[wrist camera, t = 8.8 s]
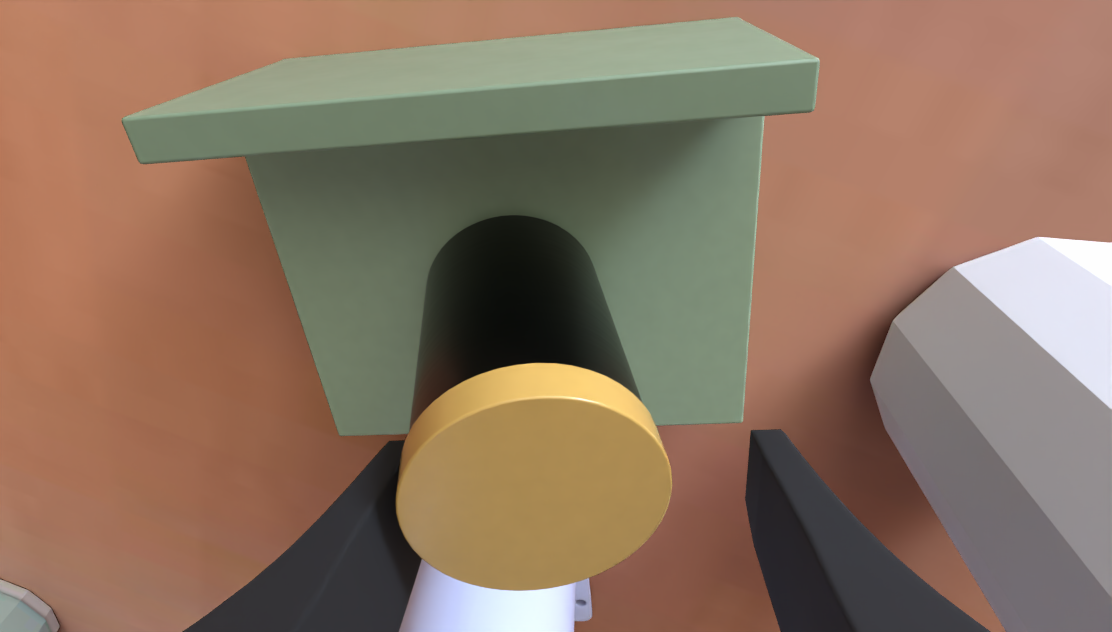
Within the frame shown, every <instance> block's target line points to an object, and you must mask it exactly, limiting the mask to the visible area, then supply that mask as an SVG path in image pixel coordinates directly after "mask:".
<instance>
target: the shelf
mask: <svg viewBox="0 0 1112 632" xmlns="http://www.w3.org/2000/svg"><path fill="white" fill-rule="evenodd" d="M819 66H820V61H819V58H817V57H815V56H813V55H811V54H809V53H807V52H805V51H803V50H801V49H799V48H797V47H795V46H793V45H791V44H789V43H787V42H785V41H783V40H781V39H779V38H777V37H775V36H773V35H771V34H769V33H767V32H765V31H763V30H761V29H759V28H757V27H755V26H753V25H751V24H749V23H748V22H746V21H744V20H742V19H741V18H738V17H733V18H722V19H711V20H700V21H689V22H679V23H668V24H657V25H646V26H636V27H625V28H614V29H603V30H592V31H582V32H571V33H560V34H549V35H539V36H528V37H517V38H506V39H495V40H485V41H474V42H463V43H452V44H442V45H431V46H420V47H409V48H398V49H388V50H377V51H366V52H355V53H345V54H334V55H323V56H312V57H301V58H291V59H284V60H281V61H279V62H276V63H273V64H270V65H268V66H265V67H262V68H259V69H257V70H254V71H251V72H248V73H245V74H243V75H240V76H237V77H234V78H231V79H229V80H226V81H223V82H220V83H217V84H215V85H212V86H209V87H206V88H204V89H201V90H198V91H195V92H192V93H190V94H187V95H184V96H181V97H178V98H176V99H173V100H170V101H167V102H164V103H162V104H159V105H156V106H153V107H151V108H148V109H145V110H142V111H139V112H137V113H134V114H131V115H128V116H125V117H124V118H122V124H123V126H124V128H125V131H126V133H127V135H128V138H129V140H130V143H131V145H132V147H133V150H134V152H135V154H136V157H137V159H138V161H139V162H140V163H141V164H154V163H167V162H180V161H193V160H205V159H218V158H231V157H244V156H245V158H246V161H247V164H248V167H249V170H250V173H251V176H252V179H253V182H254V185H255V188H256V191H257V194H258V197H259V200H260V203H261V206H262V208H263V211H264V214H265V217H266V220H267V223H268V226H269V229H270V232H271V235H272V238H273V241H274V244H275V247H276V250H277V253H278V256H279V259H280V262H281V265H282V268H283V271H284V274H285V277H286V280H287V282H288V285H289V288H290V291H291V294H292V297H293V300H294V303H295V306H296V309H297V312H298V315H299V318H300V321H301V324H302V327H303V330H304V333H305V336H306V339H307V342H308V345H309V348H310V351H311V354H312V356H313V359H314V362H315V365H316V368H317V371H318V374H319V377H320V380H321V383H322V386H323V389H324V392H325V395H326V398H327V401H328V404H329V407H330V410H331V413H332V416H333V419H334V422H335V425H336V428H337V430H338V433H339V435H340V436H358V435H389V434H408V433H409V427H410V419H411V410H412V402H413V394H414V385H415V377H416V368H417V360H418V351H419V343H420V334H421V326H422V317H423V309H424V300H425V292H426V284H427V278H428V274H429V271H430V268H431V265H432V263H433V261H434V259H435V257H436V256H437V254H438V253H439V251H440V250H441V248H442V247H443V246H444V245H445V244H446V243H447V242H448V241H449V240H450V239H451V238H452V237H454V236H455V235H456V234H457V233H459V232H460V231H462V230H463V229H465V228H466V227H468V226H470V225H472V224H475V223H477V222H479V221H482V220H485V219H488V218H493V217H498V216H507V215H522V216H530V217H535V218H539V219H543V220H546V221H549V222H551V223H553V224H555V225H557V226H559V227H561V228H562V229H564V230H566V231H567V232H569V233H570V234H571V235H572V236H573V237H574V238H576V239H577V240H578V242H579V243H580V244H581V245H582V246H583V247H584V249H585V250H586V252H587V253H588V255H589V257H590V259H591V261H592V263H593V266H594V268H595V271H596V274H597V277H598V280H599V282H600V285H601V288H602V291H603V294H604V296H605V299H606V302H607V305H608V308H609V310H610V313H611V316H612V319H613V322H614V324H615V327H616V330H617V333H618V336H619V338H620V341H621V344H622V347H623V350H624V352H625V355H626V358H627V361H628V364H629V366H630V369H631V372H632V375H633V378H634V380H635V383H636V386H637V389H638V392H639V394H640V397H641V400H642V403H643V404H644V406H645V407H646V408H647V410H648V411H649V413H650V414H651V416H652V418H653V420H654V422H655V424H656V426H660V425H691V424H721V423H742V421H743V412H744V397H745V383H746V369H747V355H748V341H749V326H750V312H751V298H752V284H753V270H754V255H755V241H756V227H757V213H758V199H759V184H760V170H761V156H762V142H763V128H764V116H770V115H783V114H796V113H809V112H812V111H814V108H815V102H816V93H817V84H818V75H819Z"/></svg>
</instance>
